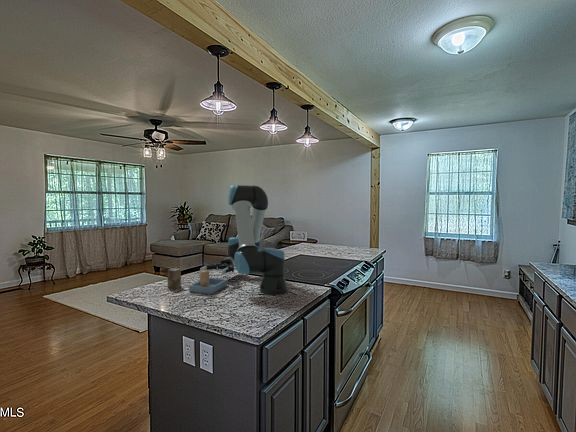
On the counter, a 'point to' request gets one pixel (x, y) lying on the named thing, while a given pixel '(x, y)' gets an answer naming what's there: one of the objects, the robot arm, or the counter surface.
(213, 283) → the tray
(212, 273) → the counter surface
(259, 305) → the counter surface
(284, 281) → the robot arm
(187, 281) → the counter surface
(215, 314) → the counter surface
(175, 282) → the walnut block
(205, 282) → the canister
